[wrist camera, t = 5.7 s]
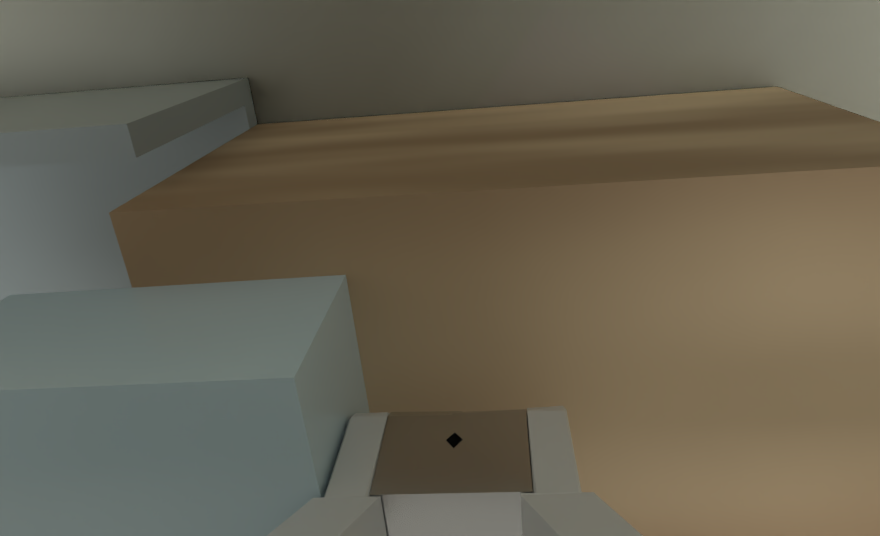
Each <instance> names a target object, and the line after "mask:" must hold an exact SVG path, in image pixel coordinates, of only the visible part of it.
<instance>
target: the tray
mask: <svg viewBox="0 0 880 536" xmlns="http://www.w3.org/2000/svg"><path fill="white" fill-rule="evenodd" d="M255 125H257V120H256V115H255V110H254V105H253V100H252V95H251V90H250V85H249V80H248V78H238V79H226V80H213V81H201V82H188V83H176V84H164V85H151V86H139V87H126V88H114V89H101V90H89V91H77V92H64V93H52V94H39V95H27V96H14V97H2V98H0V301H1V300H3V299H4V298H6V297H7V296H9V295H18V294H34V293H51V292H68V291H84V290H101V289H117V288H132V286H131V283H130V279H129V276H128V273H127V270H126V266H125V263H124V260H123V257H122V253H121V250H120V247H119V244H118V240H117V237H116V234H115V231H114V228H113V224H112V221H111V218H110V215H109V212H111V211H113V210H114V209H116V208H118V207H119V206H121V205H123V204H124V203H126V202H128V201H129V200H131V199H133V198H134V197H136V196H138V195H140V194H141V193H143V192H145V191H146V190H148V189H150V188H151V187H153V186H155V185H156V184H158V183H160V182H161V181H163V180H165V179H166V178H168V177H170V176H171V175H173V174H175V173H176V172H178V171H180V170H182V169H183V168H185V167H187V166H188V165H190V164H192V163H193V162H195V161H197V160H198V159H200V158H202V157H203V156H205V155H207V154H208V153H210V152H212V151H213V150H215V149H217V148H218V147H220V146H222V145H224V144H225V143H227V142H229V141H230V140H232V139H234V138H235V137H237V136H239V135H240V134H242V133H244V132H245V131H247V130H249V129H250V128H252V127H254V126H255Z"/></svg>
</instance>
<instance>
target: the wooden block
mask: <svg viewBox="0 0 880 536" xmlns="http://www.w3.org/2000/svg"><path fill="white" fill-rule="evenodd" d="M109 215H110V218H111V221H112V224H113V228H114V231H115V234H116V237H117V240H118V244H119V247H120V250H121V253H122V257H123V260H124V263H125V266H126V270H127V273H128V276H129V279H130V283H131V286H132V288H136V287H152V286H169V285H185V284H201V283H218V282H234V281H250V280H267V279H283V278H300V277H316V276H333V275H346V279H347V285H348V290H349V296H350V302H351V308H352V313H353V319H354V325H355V331H356V337H357V342H358V348H359V354H360V360H361V365H362V371H363V377H364V383H365V389H366V394H367V400H368V406H369V412H370V413H377V412H388V413H391V412H434V411H462V412H469V411H494V410H519V409H526V411H527V408H534V407H549V406H564V407H565V409H566V410H567V416H568V421H569V426H570V432H571V437H572V443H573V448H574V453H575V459H576V464H577V470H578V475H579V480H580V486H581V491H582V492H594V493H595V494H596V495H597V496H599V497H600V498H601V499H602V500H603V501H604V502H605V503H606V504H608V505H609V506H610V507H611V508H612V509H613V510H614V511H615V512H617V513H618V514H619V515H620V516H621V517H622V518H623V519H625V520H626V521H627V522H628V523H629V524H630V525H631V526H632V527H634V528H635V529H636V530H637V531H638V532H639V533H640V534H641V535H643V536H880V122H878V121H875V120H872V119H869V118H866V117H864V116H861V115H858V114H855V113H852V112H849V111H846V110H843V109H841V108H838V107H835V106H832V105H829V104H826V103H823V102H820V101H818V100H815V99H812V98H809V97H806V96H803V95H800V94H797V93H795V92H792V91H789V90H786V89H783V88H780V87H764V88H750V89H736V90H723V91H709V92H695V93H681V94H668V95H654V96H640V97H627V98H613V99H599V100H585V101H572V102H558V103H544V104H530V105H517V106H503V107H489V108H475V109H462V110H448V111H434V112H420V113H407V114H393V115H379V116H365V117H352V118H338V119H324V120H310V121H297V122H283V123H269V124H257V125H255V126H254V127H252V128H250V129H249V130H247V131H245V132H244V133H242V134H240V135H239V136H237V137H235V138H234V139H232V140H230V141H229V142H227V143H225V144H224V145H222V146H220V147H218V148H217V149H215V150H213V151H212V152H210V153H208V154H207V155H205V156H203V157H202V158H200V159H198V160H197V161H195V162H193V163H192V164H190V165H188V166H187V167H185V168H183V169H182V170H180V171H178V172H176V173H175V174H173V175H171V176H170V177H168V178H166V179H165V180H163V181H161V182H160V183H158V184H156V185H155V186H153V187H151V188H150V189H148V190H146V191H145V192H143V193H141V194H140V195H138V196H136V197H134V198H133V199H131V200H129V201H128V202H126V203H124V204H123V205H121V206H119V207H118V208H116V209H114V210H113V211H111V212H109Z"/></svg>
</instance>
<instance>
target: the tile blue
mask: <svg viewBox="0 0 880 536" xmlns="http://www.w3.org/2000/svg"><path fill="white" fill-rule="evenodd" d="M355 413H370V412H369V406H368V400H367V394H366V389H365V383H364V377H363V371H362V365H361V360H360V354H359V348H358V342H357V337H356V331H355V325H354V319H353V313H352V308H351V302H350V296H349V290H348V285H347V279H346V275H333V276H316V277H300V278H283V279H267V280H250V281H234V282H218V283H201V284H185V285H169V286H152V287H136V288H117V289H101V290H84V291H68V292H51V293H34V294H18V295H9V296H7V297H6V298H4V299H3V300H1V301H0V536H267V535H268V534H269V533H270V532H272V531H273V530H274V529H275V528H277V527H278V526H279V525H280V524H282V523H283V522H284V521H285V520H286V519H288V518H289V517H290V516H291V515H293V514H294V513H295V512H296V511H297V510H299V509H300V508H301V507H302V506H304V505H305V504H306V503H307V502H308V501H310V500H311V499H312V498H322V497H324V496H325V493H326V490H327V487H328V483H329V480H330V477H331V474H332V471H333V468H334V465H335V462H336V459H337V456H338V453H339V450H340V447H341V444H342V441H343V438H344V434H345V431H346V428H347V425H348V422H349V419H350V418H351V417H352V416H353V415H354V414H355Z"/></svg>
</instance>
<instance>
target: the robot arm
mask: <svg viewBox="0 0 880 536" xmlns="http://www.w3.org/2000/svg"><path fill="white" fill-rule="evenodd" d="M267 536H643V535H641V534H640V533H639V532H638V531H637V530H636V529H635V528H634V527H632V526H631V525H630V524H629V523H628V522H627V521H626V520H625V519H623V518H622V517H621V516H620V515H619V514H618V513H617V512H615V511H614V510H613V509H612V508H611V507H610V506H609V505H608V504H606V503H605V502H604V501H603V500H602V499H601V498H600V497H599V496H597V495H596V494H595V493H594V492H582V491H581V486H580V480H579V475H578V470H577V464H576V459H575V453H574V448H573V443H572V437H571V432H570V426H569V421H568V416H567V410H566V409H565V407H564V406H549V407H534V408H527V411H526V409H519V410H494V411H469V412H462V411H434V412H391V413H388V412H377V413H355V414H354V415H353V416H352V417H351V418H350V419H349V422H348V425H347V428H346V431H345V434H344V438H343V441H342V444H341V447H340V450H339V453H338V456H337V459H336V462H335V465H334V468H333V471H332V474H331V477H330V480H329V483H328V487H327V490H326V493H325V496H324V497H322V498H312V499H311V500H310V501H308V502H307V503H306V504H305V505H304V506H302V507H301V508H300V509H299V510H297V511H296V512H295V513H294V514H293V515H291V516H290V517H289V518H288V519H286V520H285V521H284V522H283V523H282V524H280V525H279V526H278V527H277V528H275V529H274V530H273V531H272V532H270V533H269V534H268V535H267Z"/></svg>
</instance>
